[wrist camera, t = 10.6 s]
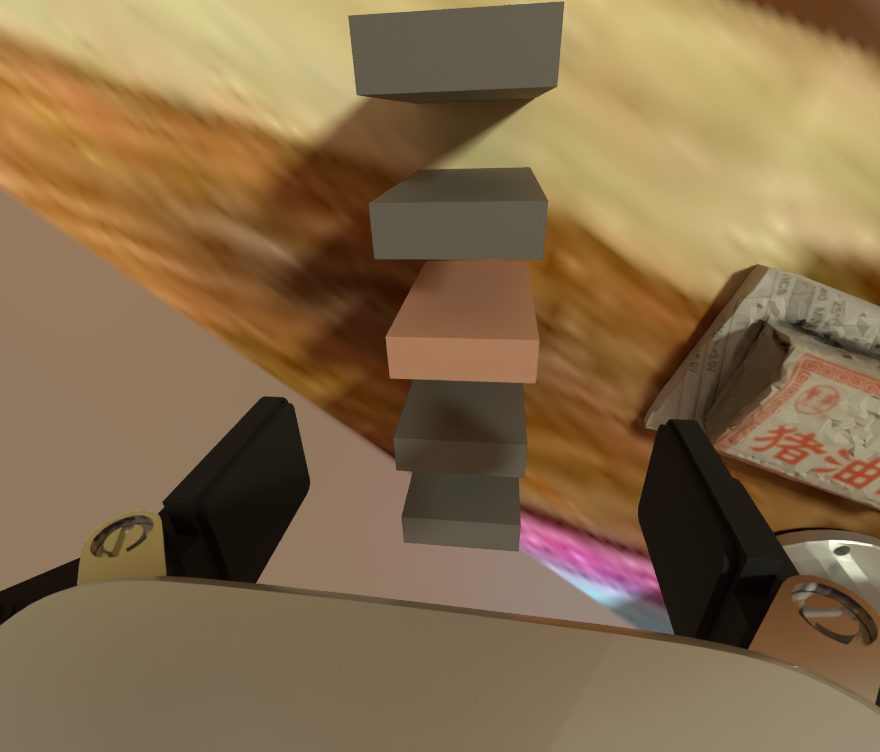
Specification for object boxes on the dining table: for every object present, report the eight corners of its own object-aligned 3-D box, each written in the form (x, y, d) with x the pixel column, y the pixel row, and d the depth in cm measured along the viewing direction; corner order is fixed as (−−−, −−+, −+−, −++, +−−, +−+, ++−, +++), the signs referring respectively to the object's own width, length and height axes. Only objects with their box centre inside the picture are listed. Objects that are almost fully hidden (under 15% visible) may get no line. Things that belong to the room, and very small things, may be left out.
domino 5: (513, 426, 27) (518, 551, 19) (431, 422, 28) (404, 542, 20) (515, 404, 26) (520, 525, 18) (430, 400, 27) (401, 516, 19)
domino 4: (517, 365, 25) (524, 477, 17) (428, 362, 25) (396, 470, 18) (519, 338, 24) (527, 444, 16) (427, 336, 25) (392, 438, 17)
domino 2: (527, 205, 21) (543, 259, 13) (420, 206, 21) (374, 259, 14) (530, 167, 20) (547, 200, 12) (418, 169, 20) (368, 203, 13)
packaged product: (1211, 443, 18) (979, 582, 23) (1078, 381, 22) (906, 511, 27) (812, 289, 17) (661, 471, 22) (751, 254, 21) (636, 414, 26)
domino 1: (534, 98, 19) (557, 86, 11) (415, 103, 19) (356, 95, 11) (537, 50, 18) (563, 1, 10) (413, 57, 18) (348, 15, 11)
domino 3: (524, 292, 23) (535, 383, 15) (427, 291, 23) (389, 378, 16) (526, 261, 22) (539, 340, 14) (425, 260, 23) (385, 337, 15)
